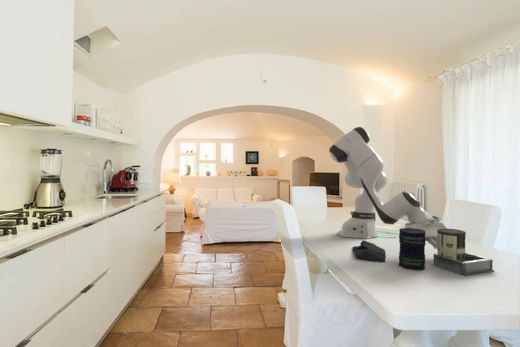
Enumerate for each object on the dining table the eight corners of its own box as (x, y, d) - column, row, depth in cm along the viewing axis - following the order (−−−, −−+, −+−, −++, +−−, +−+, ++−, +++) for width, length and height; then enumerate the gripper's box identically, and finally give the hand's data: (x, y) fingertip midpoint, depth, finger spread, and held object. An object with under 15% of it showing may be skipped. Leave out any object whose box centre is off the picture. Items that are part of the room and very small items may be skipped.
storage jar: (424, 272, 120) (424, 234, 119) (396, 267, 125) (397, 231, 125) (426, 265, 128) (426, 229, 128) (400, 261, 133) (400, 227, 133)
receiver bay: (433, 264, 129) (433, 254, 129) (461, 261, 134) (461, 250, 134) (464, 275, 116) (465, 264, 116) (494, 271, 121) (494, 260, 121)
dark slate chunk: (349, 260, 136) (349, 249, 136) (353, 248, 157) (353, 238, 157) (387, 264, 131) (387, 253, 131) (385, 251, 152) (385, 241, 151)
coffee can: (459, 261, 134) (459, 228, 134) (469, 268, 124) (470, 234, 124) (433, 259, 136) (433, 227, 136) (441, 266, 126) (442, 232, 126)
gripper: (407, 219, 139) (424, 245, 130) (441, 216, 145) (460, 242, 136) (399, 227, 143) (416, 253, 134) (433, 224, 150) (451, 249, 141)
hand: (438, 247), depth 135 cm, fingers closed, pressing on coffee can
